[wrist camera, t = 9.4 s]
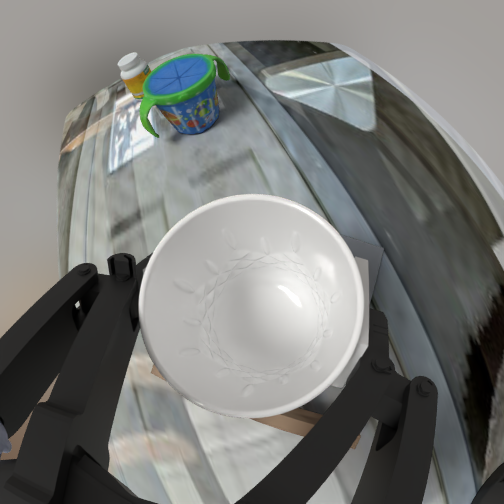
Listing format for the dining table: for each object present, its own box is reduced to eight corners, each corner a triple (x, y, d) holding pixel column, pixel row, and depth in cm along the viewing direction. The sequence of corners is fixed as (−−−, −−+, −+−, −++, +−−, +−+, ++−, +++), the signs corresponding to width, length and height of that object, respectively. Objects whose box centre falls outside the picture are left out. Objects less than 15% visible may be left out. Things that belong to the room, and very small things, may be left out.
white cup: (233, 251, 20) (184, 176, 11) (341, 281, 19) (384, 224, 9) (196, 356, 18) (112, 363, 9) (306, 393, 17) (320, 445, 7)
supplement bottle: (135, 91, 47) (115, 58, 38) (158, 80, 47) (140, 46, 38) (135, 105, 46) (112, 72, 36) (160, 94, 45) (140, 58, 36)
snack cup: (215, 82, 44) (200, 39, 34) (255, 106, 40) (244, 56, 31) (145, 134, 42) (117, 95, 33) (176, 166, 39) (146, 122, 29)
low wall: (351, 422, 26) (361, 436, 21) (346, 433, 26) (354, 449, 21) (174, 358, 31) (155, 360, 26) (170, 368, 31) (150, 372, 26)
